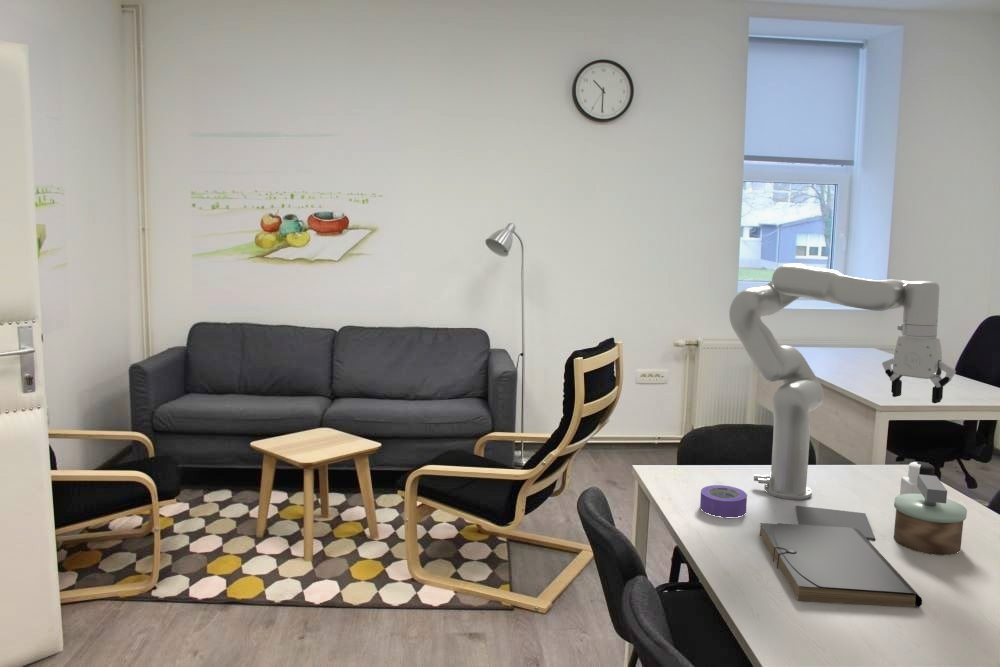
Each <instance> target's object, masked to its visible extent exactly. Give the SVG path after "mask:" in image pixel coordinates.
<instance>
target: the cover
mask: <svg viewBox="0 0 1000 667" xmlns="http://www.w3.org/2000/svg"><path fill="white" fill-rule="evenodd" d="M917 487H918V489H919V490H920V492H921V493H922V494H902V495H900V494H898V495H897V496H895V497H894V503H893V506H894V509H895V510H896V509H897V510H898V511H900V512H901V513H903V514H905V515H908V516H911V517H914V518H917V519H921V520H926V521H931V522H939V523H956V522H961V521H963V522H964V521H965V520H966V519H967V516H968V515H967V514H968V510H967V508H966V507H965V506H964V505H963V504H961V503H959V502H957V501H954V500H953V499H949V498H948V489H947V488H946V487H945V486H944V484H943V483H942V482H941V480H940V478H939V477H938V476H937V475H934V476H930V475H920V474H918V479H917Z"/></svg>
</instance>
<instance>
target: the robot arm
mask: <svg viewBox="0 0 1000 667" xmlns="http://www.w3.org/2000/svg"><path fill="white" fill-rule="evenodd" d="M799 298H805V299H810V300H815V301H816V300H817V301H821V302H827V303H831V304H835V305H836V304H837V305H841V306H843V307H844V306H845V307H849V308H855V309H862V310H867V311H873V312H884V311H888V310H889V311H890V310H895V309H900V308H903V311H902V312H903V313H902V314H903V315H902V323H901V324H898V325H897V326H896V327H897V330H898V331H901V334H902V335H898V338H897V340H896V345H895V348H894V355H893V358H890V359H888V360H885V361H883V362H882V363H881V364H882V368H883V369H884V371H885V374H886V375H887V376H888V378H889V380H890V381H891V389H890V390H891V393H892V395H891V396H892V398H897V397H901V395H902V388H903V386H902V384H903V381H902V380H901V378H902V377H908V378H909V377H910V378H916V379H924V380H930V381H931V382H932V384H934V386H933V387H932V389H931V390H932V392H931V394H932V395H931V403H933V404H938V403H940V402H942V399H943V394H944V387H946V385H947V384H948V383H949V382H951V381H952V379H953V377H954V376H955V375H956V372H957V370H956V369H954V368H952V367H951V366H949V365H948V364H946V363H945V362H943V356H942V354H943V353H942V352H943V351H942V345H941V339H940V337H938V320H939V307H940V305H939V302H940V285H939V284H938V282H936V281H929V280H912V281H909V280H902V279H895V278H894V279H893V278H890V279H882V280H876V279H875V280H873V279H865V278H861V277H860V278H859V277H853V276H849V275H844V274H842V273H841V272H840V271H838V270H835V269H830V268H821V267H814V266H810V265H807V264H805V263H786V264H782V265H781V266H778V267H777V268H776V269H775V271H773V273H772V277H771V281H769V282H768V283H767V284H765V285H763V286H758V287H757V286H755V287H749V288H746V289H744V290H742V291H740V292H738V294H736V296H735V297H734V298H733V300H732V301H731V304H730V306H729V321H730V325H731V328H732V329H733V331H734V334H736V336H737V338H738V339H739V341H740V342H741V345H743V347H744V348H745V349H744V350H745V351H746V352H747V354H748V356H749V358H750V360H751V361H752V363H753V365H754V366H755V368H756V369H757V371H758V373H759V375H760V376H761V377H762V379H764V380H765V381H767V382H770V383H777V382H781V386H779V387H778V388H777V390H776V391H775V392H774V394H773V396H772V415H773V434H772V435H773V436H772V450H771V452H772V453H771V467H770V470H771V471H769V474H768V473H767V474H765V475H762V474H753V481H754V482H757V483H758V484H764V488H763V489H765V490H766V491H767V492H768V494H769V493H770V494H772V495H771V496H773V495H774V496H773V497H776V498H780V499H786V500H795V501H796V500H806V499H809V498H811V497H812V495H813V490H812V489H811V488H810V487H808V486H807V485H808V484H807V483H808V467H809V452H810V451H809V450H810V436H811V435H810V434H811V426H810V419H809V417H810V416H809V413H810V412H812V411H814V410H816V409H818V408H819V407H820V406H821V405H822V404H823V402H824V398H825V393H824V390H823V386H822V384H821V383H820V381H819V379H818V378H817V376H816V375H815V373H814V370H813V369H812V368H811V366H810V365H809V364H808V362H807V360H806V358H805V357H804V356H803V354H802V353H801V352H800V351H799V350H798V349H796V348H795V347H793V346H791V345H780V344H779V342H778V341H777V339H776V338H775V336H774V334H773V332H772V331H771V330H770V328H769V327H768V326H767V325H766V324H765V323H764V322H763V320H762V318H761V317H765V316H767V317H768V316H771V315H774V314H776V313H778V312H780V311H781V310H783V309H784V308H786V307H787V306H789V305H791V303H793V302H795V301H796V300H798V299H799ZM942 371H943V372H945V376H944V377H943V378H942V376H941V375H942ZM765 490H764V491H765ZM766 491H765V492H766ZM767 492H766V493H767ZM770 494H769V495H770Z"/></svg>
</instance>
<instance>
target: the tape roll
mask: <svg viewBox="0 0 1000 667" xmlns="http://www.w3.org/2000/svg"><path fill="white" fill-rule="evenodd" d="M747 502H748V494H747V493H746V492H745V491H744V490H743V489H741V488H737V487H736V486H735V487H734V486H730V485H723V484H714V485H707V486H704V487H702V488H701V490H700V502H699V503H700V504H699V505H700V506H699V509H700V508H701V509H702V510H703V511H704V512H706V513H709V514H711V515H715V516H721V517H738V516H742V515H744V514H745V513H746V514H747V504H748V503H747ZM701 509H700V510H701ZM704 512H703V513H704ZM706 513H705V514H706ZM746 514H745V515H746ZM745 515H744V516H745Z"/></svg>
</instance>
